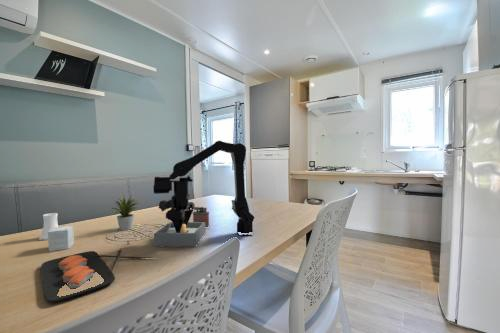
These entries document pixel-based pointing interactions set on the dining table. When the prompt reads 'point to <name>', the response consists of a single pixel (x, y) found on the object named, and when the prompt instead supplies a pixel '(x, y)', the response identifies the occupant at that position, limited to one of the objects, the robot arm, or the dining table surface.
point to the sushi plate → (75, 273)
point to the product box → (60, 238)
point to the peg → (183, 228)
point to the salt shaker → (48, 224)
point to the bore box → (179, 235)
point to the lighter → (201, 215)
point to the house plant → (125, 213)
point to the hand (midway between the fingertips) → (181, 230)
